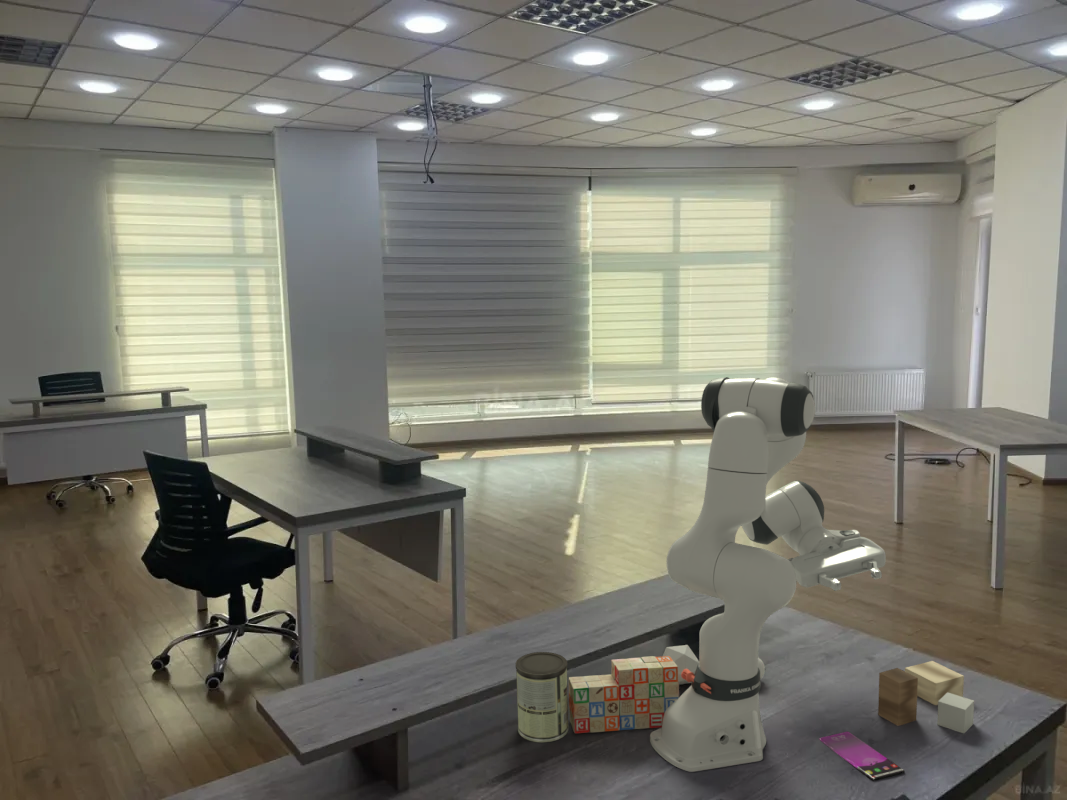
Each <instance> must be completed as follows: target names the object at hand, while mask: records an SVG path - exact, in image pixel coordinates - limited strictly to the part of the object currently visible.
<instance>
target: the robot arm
mask: <svg viewBox="0 0 1067 800" xmlns="http://www.w3.org/2000/svg"><path fill="white" fill-rule="evenodd" d="M703 389H704V390H703V391H702V395H701V401H700V403H701V404H700V407H701V408H700V409H701V410H700V411H701V414H702V418H703V419H704V422H705V423H706V424H707V426H709V427H710V428H711V430H712V431H713V434H712V438H711V444H710V448H709V455H708V462H707V463H708V464H707V472H706V473H707V474H706V483H705V490H704V497H703V504H702V507H701V511H700V513H699V516H698V517H697V519H696V521H695V522H694V524H693V526H692V527H691V528H690V529H689V530H688V531H687V532H686V533H685V534H683V535H682V536H679V537H678V538H677V539H676V540H675V541H674V542H673V543H672V544H671V545H670V548H669V549H668V552H667V555H666V570H667V574H668V575H669V578H670V580H671V581H672V582H674V583H675V584H676V585H679V586H681V587H682V588H685V589H687V590H688V591H691V592H693V593H696V594H699V595H704V596H707V597H711V598H715V599H719V600H722V601H723V602H724V612H722V613H718V614H715V615H713V616H710V617H709V618H707V619H706V620H705V621H704V622H703V623H702V626H701V627H700V630H699V632H698V633H699V639H698V640H699V642H698V643H699V645H698V646H699V648H698V650H699V652H698V653H699V656H698V658H699V659H698V660H699V664H698V666H697V668H696V671H695V674H694V673H693V672H690V670H688V669H684V670H683V672H681V673H682V674H681V677H682V678H683V679H685V680H686V681H687V682H692V683H690V684H691V685H690V686H689V687H688V688H687V689H686V690H685V691H684V692H683V693H682V694H681V695H679V698H678V699H677V700H676V701H675V702H674V703H673V704H672V705H670V706H669V707H668V708H667V709H666V711H665V713H664V717H663V723H662V727H660V728H657V729H656V730H654V731H651V732H650V735H649V742H650V745H651V747H652V748H653V750H655V752H656V753H657V754H659V755H660V757H662V758H663V759H664V760H666V762H668V763H669V764H671V765H673V766H674V767H677V768H678V769H681V770H683V771H685V772H689V773H694V772H700V771H707V770H713V769H718V768H725V767H731V766H736V765H742V764H748V763H756V762H760V761H762V760H763V759H764V753H763V750H764V748H765V746H766V744H767V737H766V734H765V730H764V727H763V726H764V725H763V721H762V716H761V715H762V714H761V710H760V709H761V708H760V699H759V697H760V696H759V692H760V691H761V679H760V669H759V668H758V658H759V652H760V651H759V648H760V638H761V633H762V630H763V628H764V625H765V624H766V622H767V620H768V618H769V617H771V615H773V614H774V613H775V612H777V611H779V610H781V609H783V608H785V606H786V605H788V604H789V603H790V602H791V600H792V599H793V597H794V595H795V592H796V589H797V583H798V584H799V585H800V587H804V588H811V587H815V586H819V585H821V586H822V587H827V588H830V589H831V590H833V591H834V592H836V591H840V590H842V583H841V581H840V580H841V579H844V578H847V577H852V576H854V575H857V574H858V575H859V574H862V573H866V572H870V577H871V578H872V579H873V580H879V579H882V577H883V575H882V574H883V573H882V571H881V570H880V569H879V568H884V567H885V566H886V563H887V562H886V560H887V557H886V552H885V549H884V548H882V547H881V546H880V545H879V544H877V543H876V542H874V541H873V540H872V539H870V538H867V537H864V536H861V533H860V532H859V530H857V529H849V530H848V529H847V530H838V529H828V528H825V527H824V526H823V523H824V520H825V506H824V505H825V504H824V503H823V500H822V498H821V496H820V494H819V493H818V492H817V490H816V489H815V488H813V487H812V486H811V485H810V484H808V483H806V482H804V481H800V480H794V481H791V482H789V483H787V484H786V485H783V486H782V487H780V488H777V489H776V490H774V491H772V492H770V493H768V494H767V484H768V483H769V481H770V480H771V479H772V478H773V476H775V475H776V474H778V472H779V471H780V470H781V469H783V468H784V467H785V466H786V465H787V466H788V464H790V462H792V461H794V459H796V458H797V457H798V456H799V455H800V453H801V452H802V451H803V449H804V447H805V444H806V440H807V439H806V438H807V432H808V431H809V430H810V428H811V426H812V424H813V420H814V418H815V413H816V404H815V401H814V399H815V398H814V395H813V392H812V391H811V390H810V389H809V388H808V387H807V386H805V385H803V384H801V383H797V382H791V381H790V382H789V381H788V380H786V379H784V378H781V377H778V376H777V377H775V376H774V377H773V376H772V377H771V376H770V377H766V378H762V379H761V378H759V377H736V378H734V377H732V378H730V377H729V376H727V377H725V376H724V377H718V378H713V379H711V380H710V381H709V383H708V384H706V386H705V387H704V388H703ZM740 527H742V529H743V531H744V533H745V535H746V536H747V537H748V539H749V540H750V541H751V542H754V543H757V544H761V545H767V546H768V545H770V544H771V543H773V542H775V541H776V540H777V539H779V538H780V537H781V538H782V540H783V541H784V542H785V543H786V544H787V545H788V546H789V547H790V548H791V549H792V550H793V551H795V552H796V553H798V554H799V555H798V556H795V557H791V558H786V557H784V556H782V555H780V554H778V553H776V552H773V551H771V550H769V549H765V548H761V547H755V546H751V545H746V544H741V543H737V542H736V535H737V532H738V530H739V529H740Z"/></svg>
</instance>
